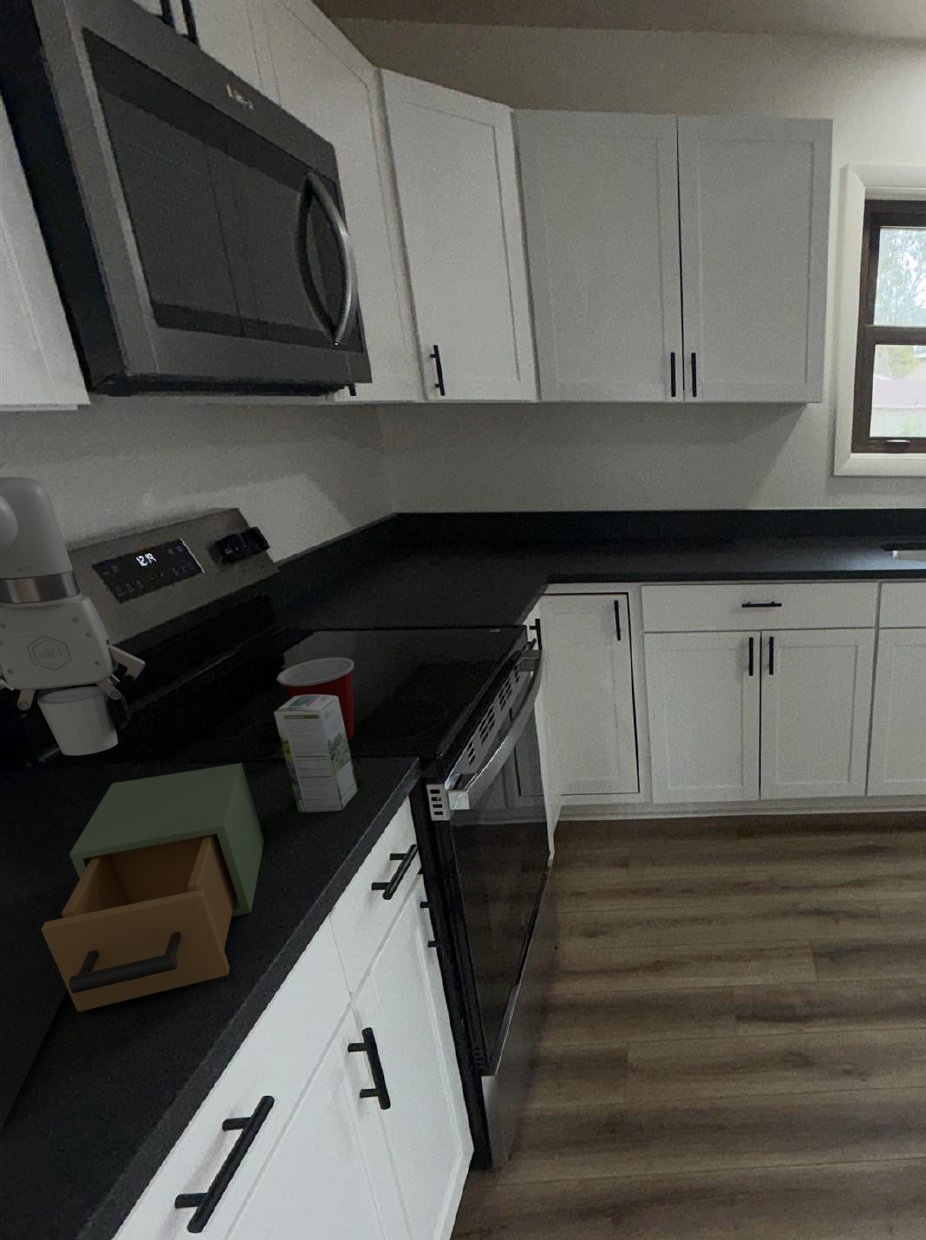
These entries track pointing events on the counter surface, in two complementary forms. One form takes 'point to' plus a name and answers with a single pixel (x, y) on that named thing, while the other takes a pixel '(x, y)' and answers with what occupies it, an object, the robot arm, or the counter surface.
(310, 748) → the syrup box
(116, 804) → the cabinet
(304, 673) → the plastic cup
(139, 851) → the drawer
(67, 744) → the white cup
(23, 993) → the counter surface
